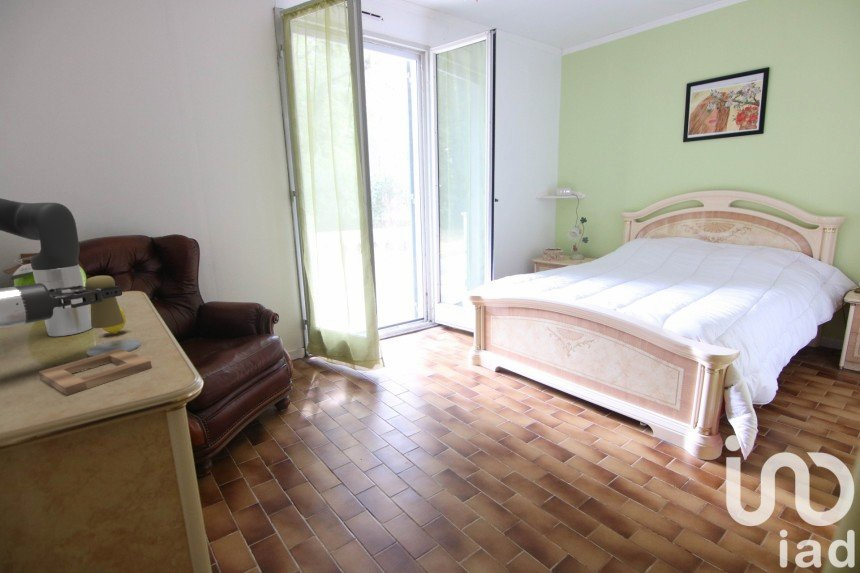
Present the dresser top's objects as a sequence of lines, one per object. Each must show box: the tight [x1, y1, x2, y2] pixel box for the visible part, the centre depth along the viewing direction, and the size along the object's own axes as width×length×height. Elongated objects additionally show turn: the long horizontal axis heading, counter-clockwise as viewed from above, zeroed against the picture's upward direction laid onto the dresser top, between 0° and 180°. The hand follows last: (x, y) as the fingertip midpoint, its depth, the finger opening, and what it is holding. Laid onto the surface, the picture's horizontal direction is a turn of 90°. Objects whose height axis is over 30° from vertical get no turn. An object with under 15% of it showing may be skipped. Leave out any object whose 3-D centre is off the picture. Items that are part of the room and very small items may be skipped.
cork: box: [84, 275, 124, 329], centre depth 97 cm, size 6×6×11 cm
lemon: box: [101, 306, 127, 335], centre depth 110 cm, size 6×6×8 cm
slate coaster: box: [86, 338, 142, 357], centre depth 100 cm, size 10×10×1 cm
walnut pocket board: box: [38, 349, 153, 396], centre depth 86 cm, size 14×14×2 cm
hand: (115, 289), depth 99 cm, fingers closed on cork, 5 cm apart
